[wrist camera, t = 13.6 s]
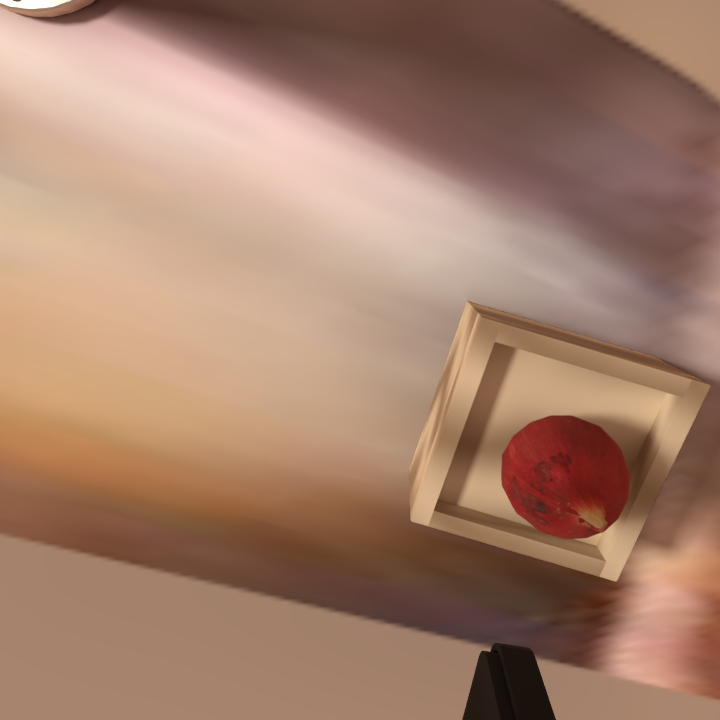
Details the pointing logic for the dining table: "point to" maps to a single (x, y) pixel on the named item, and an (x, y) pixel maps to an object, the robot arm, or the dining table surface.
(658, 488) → the beige square hollow tray
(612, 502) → the onion
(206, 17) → the dining table surface
